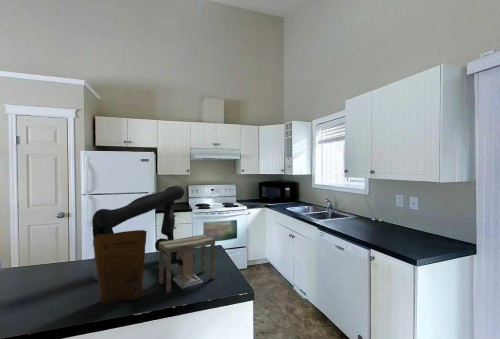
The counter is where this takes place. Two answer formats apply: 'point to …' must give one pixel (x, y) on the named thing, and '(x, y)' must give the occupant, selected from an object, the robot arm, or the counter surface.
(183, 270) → the plain brown box
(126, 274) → the pancake mix bag
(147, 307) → the counter surface
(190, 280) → the tray
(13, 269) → the counter surface
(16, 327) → the counter surface
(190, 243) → the small wooden table
